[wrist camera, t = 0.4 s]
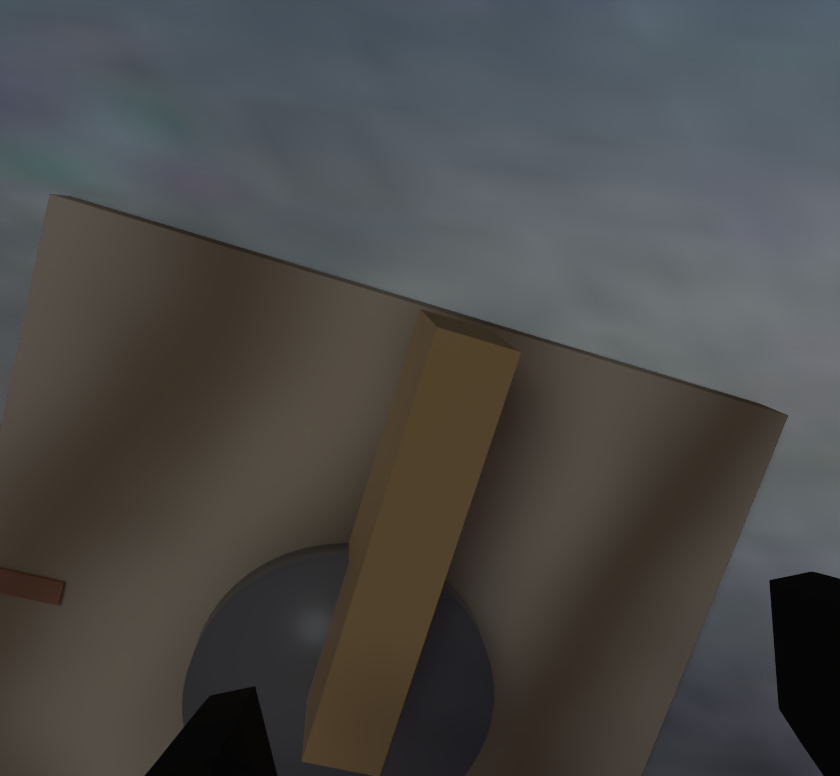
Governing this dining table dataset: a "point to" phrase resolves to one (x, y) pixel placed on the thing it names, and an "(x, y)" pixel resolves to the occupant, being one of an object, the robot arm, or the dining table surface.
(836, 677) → the robot arm
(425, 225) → the dining table surface
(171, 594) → the post board
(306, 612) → the lever with round base
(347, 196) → the dining table surface
